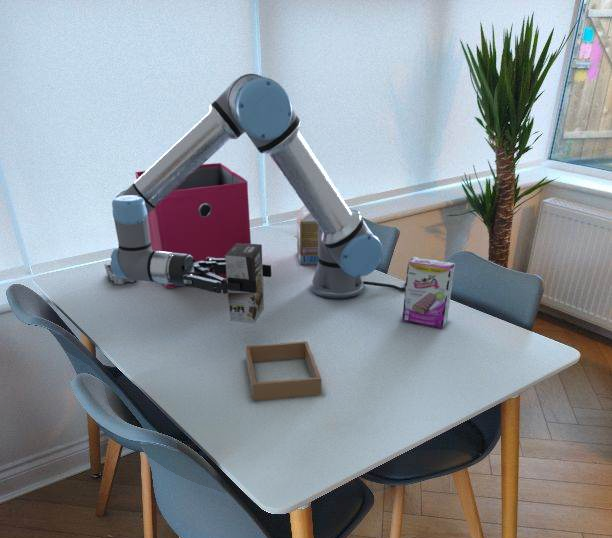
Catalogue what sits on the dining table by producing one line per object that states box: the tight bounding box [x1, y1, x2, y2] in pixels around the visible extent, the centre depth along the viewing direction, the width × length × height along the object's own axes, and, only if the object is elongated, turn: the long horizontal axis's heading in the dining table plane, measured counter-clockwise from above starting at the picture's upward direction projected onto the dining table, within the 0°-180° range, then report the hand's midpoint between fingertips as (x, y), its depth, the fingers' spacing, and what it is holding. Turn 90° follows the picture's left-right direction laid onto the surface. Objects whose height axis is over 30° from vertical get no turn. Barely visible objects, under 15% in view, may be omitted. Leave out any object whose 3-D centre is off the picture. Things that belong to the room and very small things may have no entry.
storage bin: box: [134, 162, 252, 289], centre depth 186 cm, size 28×29×28 cm
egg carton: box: [104, 263, 135, 285], centre depth 186 cm, size 11×8×4 cm
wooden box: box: [244, 340, 322, 402], centre depth 135 cm, size 15×18×4 cm
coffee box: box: [225, 243, 265, 325], centre depth 140 cm, size 9×6×16 cm
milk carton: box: [296, 205, 318, 266], centre depth 196 cm, size 11×11×19 cm
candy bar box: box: [401, 256, 456, 329], centre depth 155 cm, size 11×5×16 cm, turn 65°
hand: (263, 278), depth 138 cm, fingers closed on coffee box, 9 cm apart
